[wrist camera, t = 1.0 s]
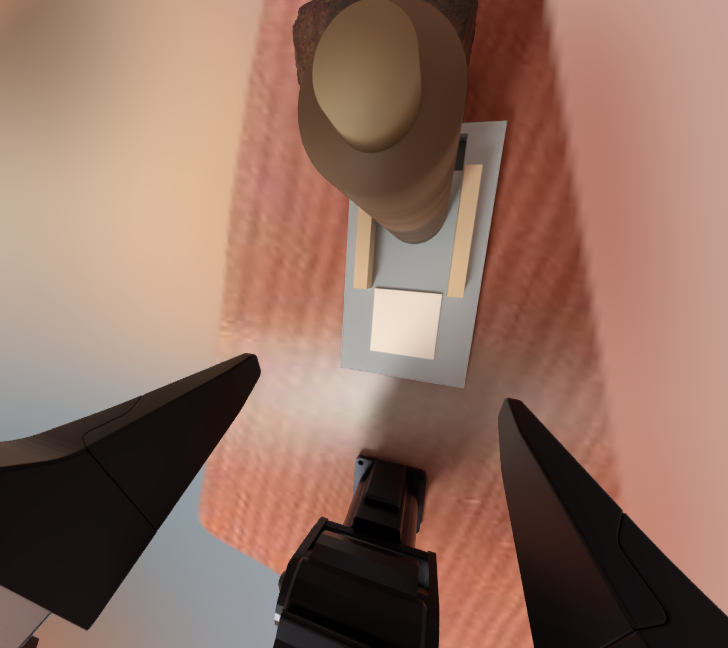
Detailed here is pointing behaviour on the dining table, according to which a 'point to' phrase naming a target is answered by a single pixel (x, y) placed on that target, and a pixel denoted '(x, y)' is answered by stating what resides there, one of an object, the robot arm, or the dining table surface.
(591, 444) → the dining table surface
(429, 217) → the pepper mill
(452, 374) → the board
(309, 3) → the brick
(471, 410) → the dining table surface
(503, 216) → the dining table surface
